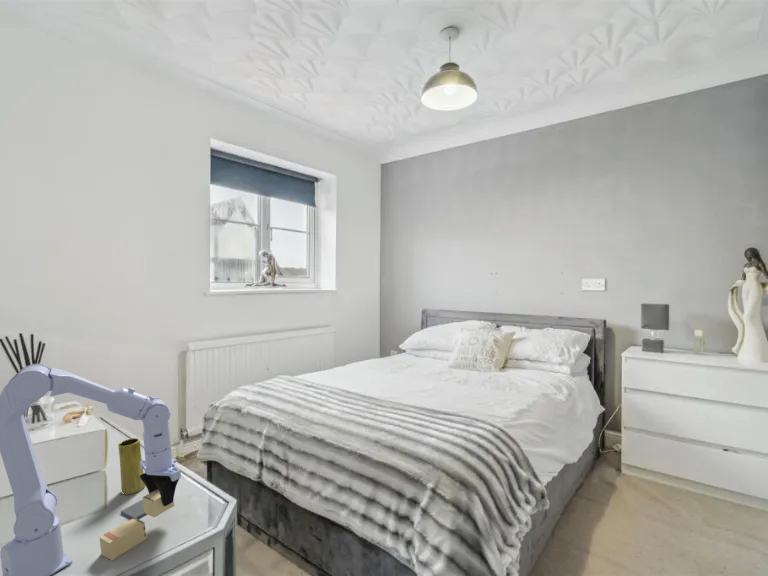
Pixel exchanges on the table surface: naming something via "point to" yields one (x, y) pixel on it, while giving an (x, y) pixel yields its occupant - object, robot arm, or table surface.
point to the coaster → (134, 510)
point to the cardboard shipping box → (122, 538)
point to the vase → (130, 466)
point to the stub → (155, 504)
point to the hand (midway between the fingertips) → (162, 501)
